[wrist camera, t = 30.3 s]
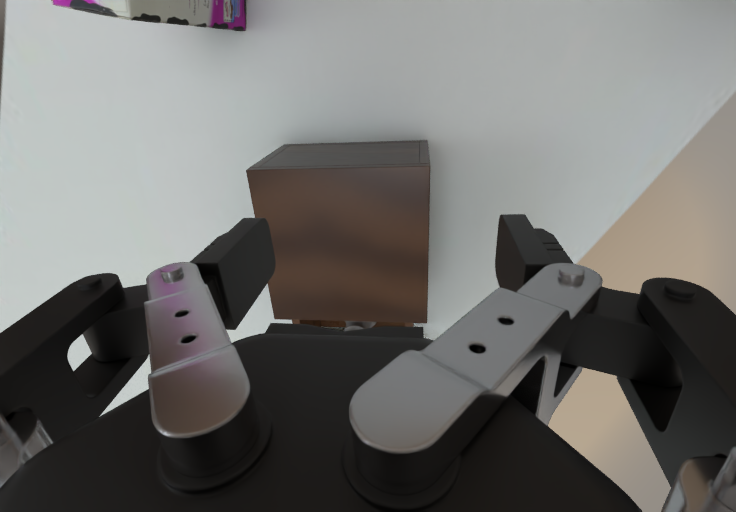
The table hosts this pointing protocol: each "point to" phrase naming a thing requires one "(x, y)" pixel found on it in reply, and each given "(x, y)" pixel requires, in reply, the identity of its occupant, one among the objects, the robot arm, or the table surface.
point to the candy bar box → (168, 11)
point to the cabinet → (347, 229)
